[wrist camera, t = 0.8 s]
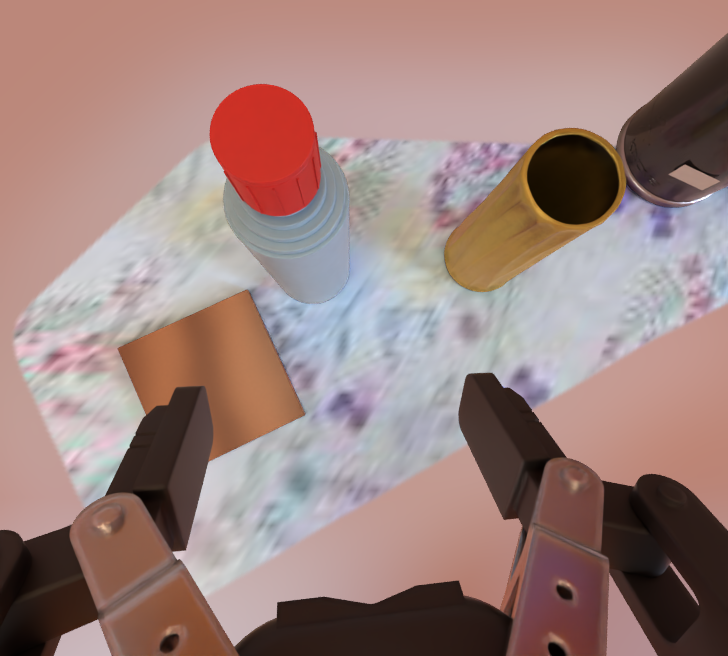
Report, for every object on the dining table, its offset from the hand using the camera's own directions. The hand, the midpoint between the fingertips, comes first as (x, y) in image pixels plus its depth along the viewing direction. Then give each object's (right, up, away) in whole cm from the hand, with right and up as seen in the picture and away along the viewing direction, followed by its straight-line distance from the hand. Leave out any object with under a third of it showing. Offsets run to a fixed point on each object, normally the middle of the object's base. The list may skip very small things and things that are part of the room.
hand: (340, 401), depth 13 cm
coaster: (-11, -2, +20) cm, 23 cm away
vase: (+10, +8, +21) cm, 25 cm away
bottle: (-3, +7, +21) cm, 22 cm away
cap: (-3, +9, +5) cm, 10 cm away
